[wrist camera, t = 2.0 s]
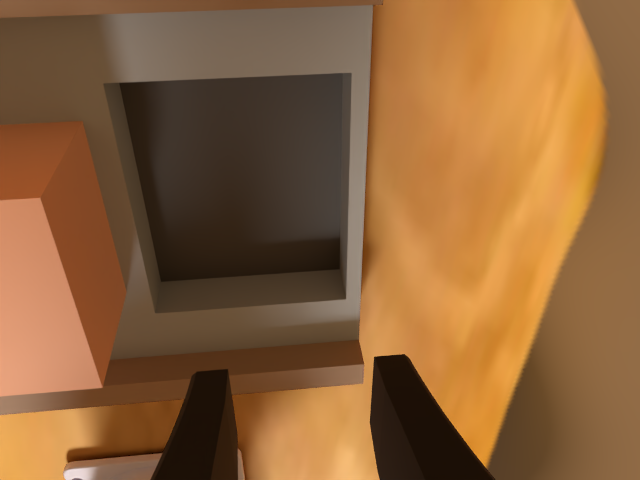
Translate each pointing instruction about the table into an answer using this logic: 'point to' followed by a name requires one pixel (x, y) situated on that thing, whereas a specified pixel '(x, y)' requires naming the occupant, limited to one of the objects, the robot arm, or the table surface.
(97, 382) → the block
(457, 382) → the table surface
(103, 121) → the grey long tray
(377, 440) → the robot arm
